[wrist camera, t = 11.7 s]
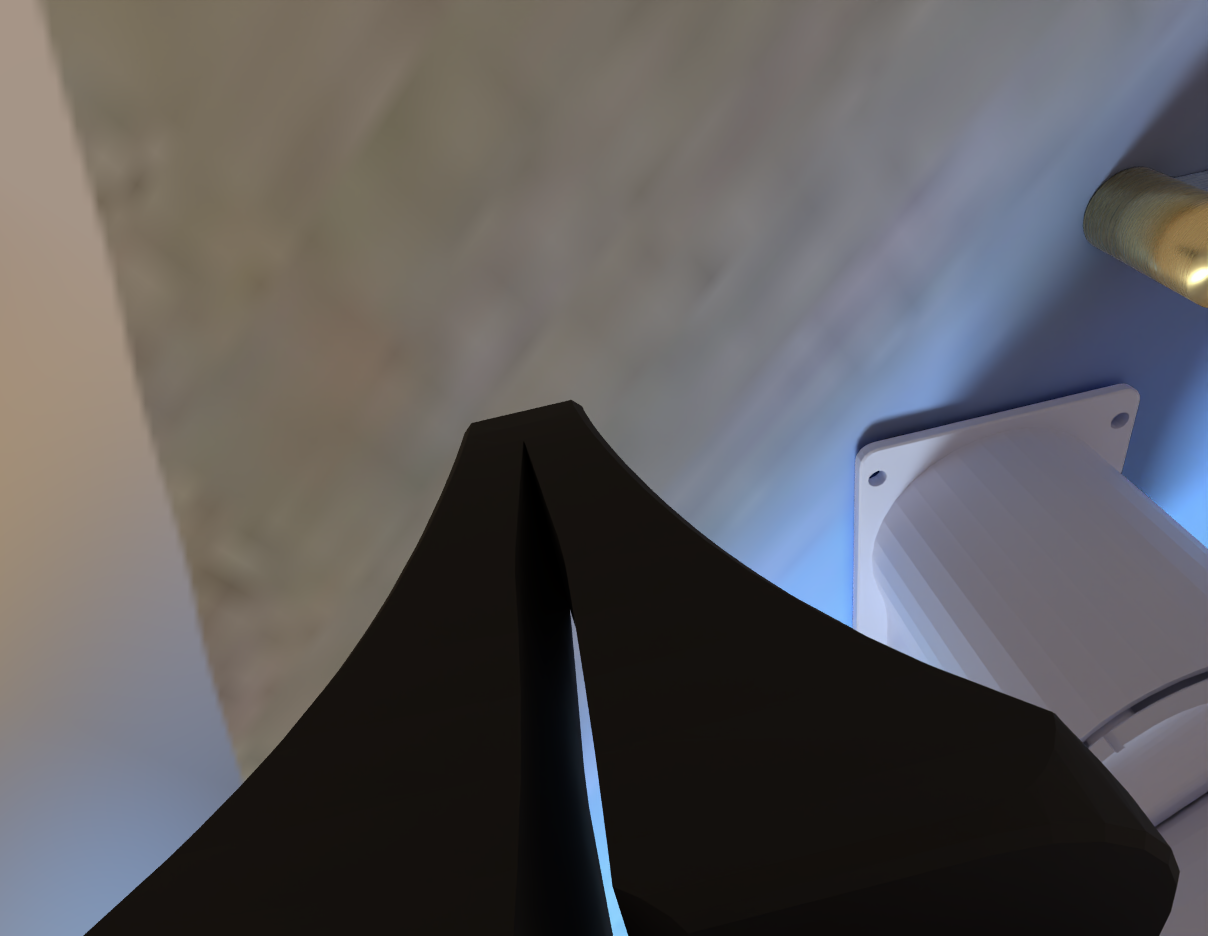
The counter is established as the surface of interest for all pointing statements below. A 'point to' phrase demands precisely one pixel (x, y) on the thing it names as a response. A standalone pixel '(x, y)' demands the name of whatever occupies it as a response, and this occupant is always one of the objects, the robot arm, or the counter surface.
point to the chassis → (1155, 227)
